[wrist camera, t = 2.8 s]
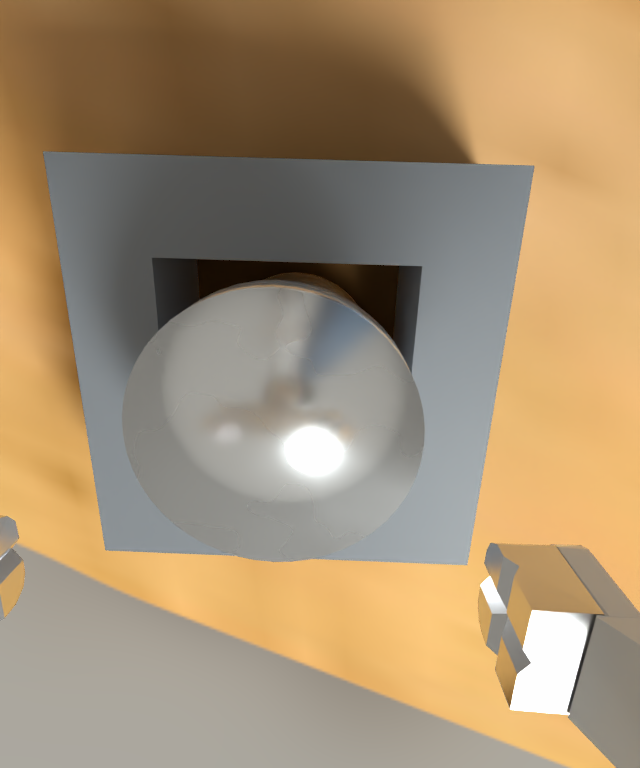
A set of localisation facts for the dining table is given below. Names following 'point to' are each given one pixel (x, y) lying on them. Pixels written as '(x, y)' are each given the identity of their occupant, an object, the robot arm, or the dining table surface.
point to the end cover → (274, 420)
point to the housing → (295, 244)
